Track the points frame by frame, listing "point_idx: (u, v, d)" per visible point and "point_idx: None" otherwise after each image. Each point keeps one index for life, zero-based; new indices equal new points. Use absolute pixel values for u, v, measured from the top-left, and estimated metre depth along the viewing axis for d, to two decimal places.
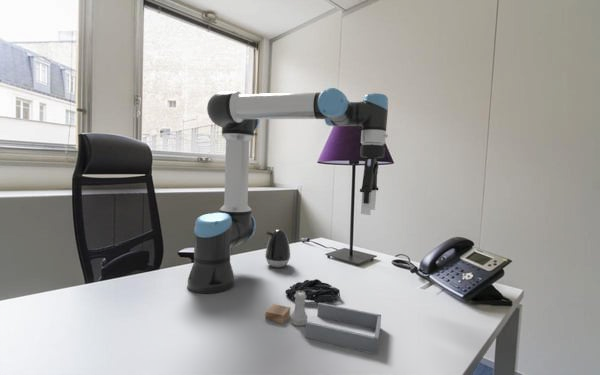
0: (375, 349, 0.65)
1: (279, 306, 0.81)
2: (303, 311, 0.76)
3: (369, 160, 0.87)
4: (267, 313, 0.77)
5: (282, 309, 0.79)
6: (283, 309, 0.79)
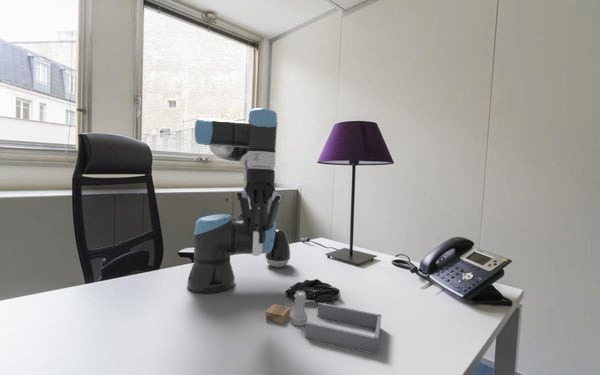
0: (375, 349, 0.65)
1: (279, 306, 0.81)
2: (303, 311, 0.76)
3: None
4: (267, 313, 0.77)
5: (282, 309, 0.79)
6: (283, 309, 0.79)
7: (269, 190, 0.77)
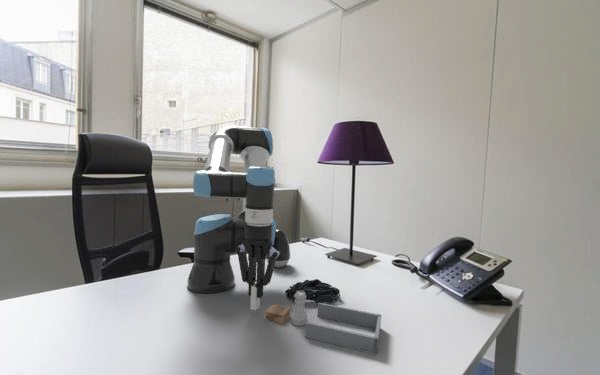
0: (375, 349, 0.65)
1: (279, 306, 0.81)
2: (303, 311, 0.76)
3: None
4: (267, 313, 0.77)
5: (282, 309, 0.79)
6: (283, 309, 0.79)
7: (267, 246, 0.78)
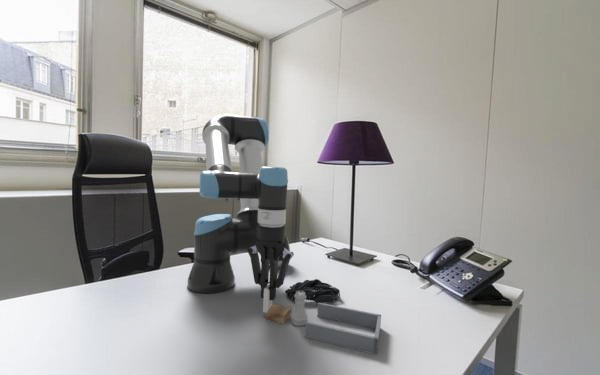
0: (375, 349, 0.65)
1: (280, 306, 0.81)
2: (303, 311, 0.76)
3: None
4: (268, 313, 0.77)
5: (283, 309, 0.79)
6: (284, 309, 0.79)
7: (280, 248, 0.77)
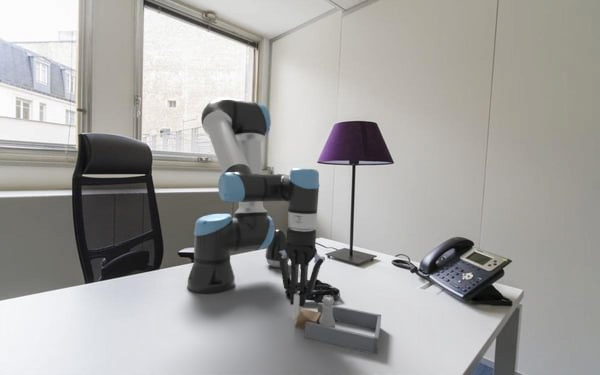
0: (375, 349, 0.65)
1: (309, 311, 0.78)
2: (331, 316, 0.74)
3: None
4: (298, 318, 0.75)
5: (313, 314, 0.77)
6: (314, 314, 0.76)
7: (311, 253, 0.74)
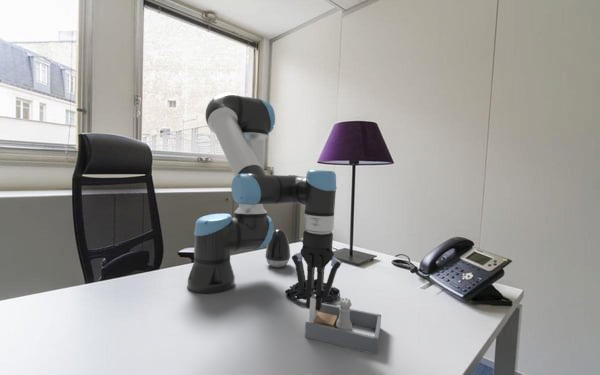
0: (375, 349, 0.65)
1: (325, 314, 0.77)
2: (349, 319, 0.73)
3: None
4: (315, 322, 0.73)
5: (330, 318, 0.75)
6: (330, 318, 0.75)
7: (328, 256, 0.73)
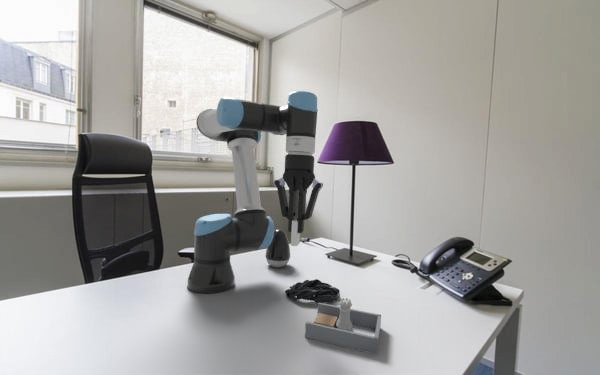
0: (375, 349, 0.65)
1: (326, 315, 0.77)
2: (349, 319, 0.73)
3: None
4: None
5: (330, 319, 0.75)
6: (331, 319, 0.75)
7: (309, 177, 0.74)
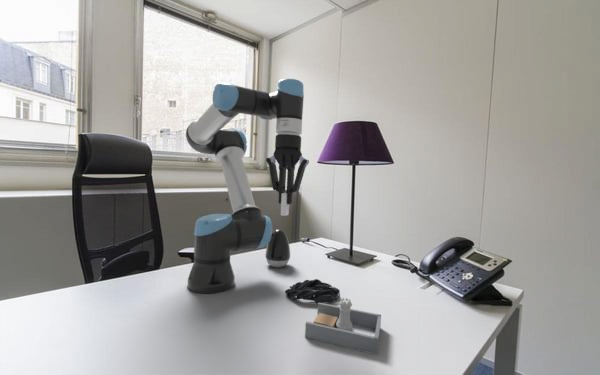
0: (375, 349, 0.65)
1: (326, 315, 0.77)
2: (349, 319, 0.73)
3: None
4: None
5: (330, 319, 0.75)
6: (331, 319, 0.75)
7: (297, 154, 0.84)
